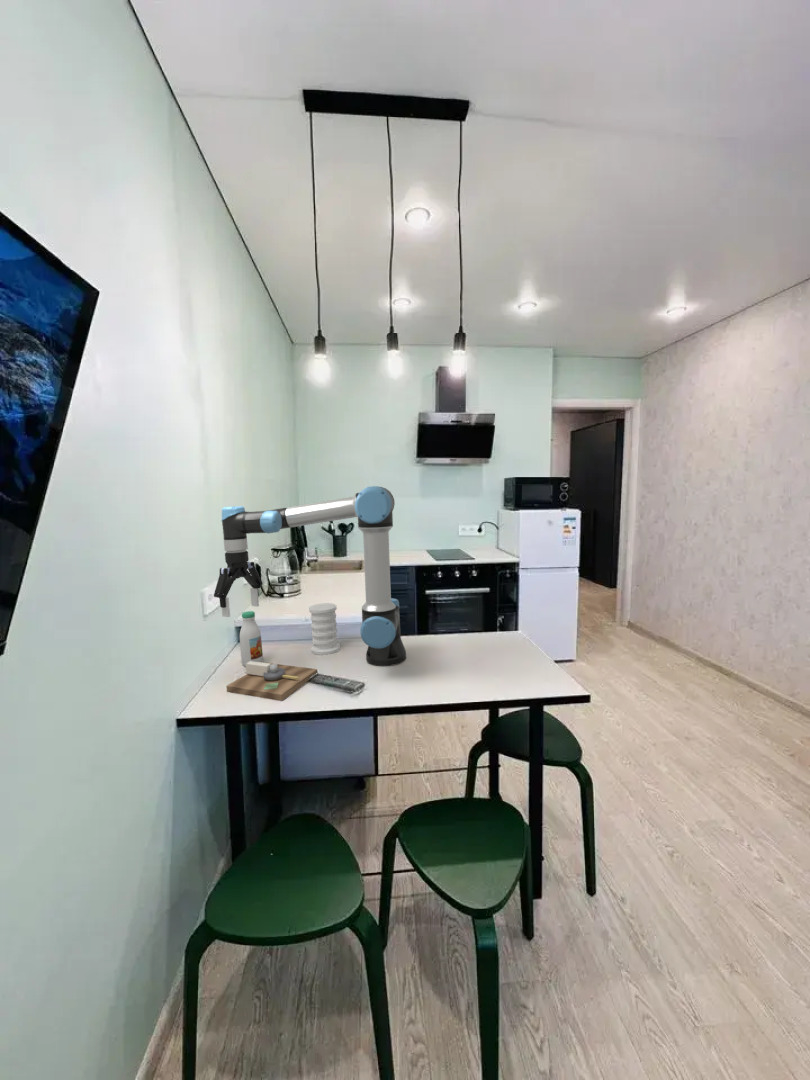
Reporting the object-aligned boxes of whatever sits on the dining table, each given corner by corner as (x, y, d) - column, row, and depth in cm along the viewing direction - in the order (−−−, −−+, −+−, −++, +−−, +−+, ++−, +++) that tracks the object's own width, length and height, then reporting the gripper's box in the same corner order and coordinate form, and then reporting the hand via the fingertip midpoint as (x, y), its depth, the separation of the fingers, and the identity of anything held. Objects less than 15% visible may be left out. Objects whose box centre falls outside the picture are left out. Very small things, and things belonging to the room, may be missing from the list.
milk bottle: (243, 669, 161) (238, 616, 159) (240, 662, 168) (236, 611, 166) (264, 664, 165) (260, 613, 163) (261, 658, 172) (257, 608, 169)
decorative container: (337, 654, 172) (334, 610, 170) (308, 655, 172) (305, 611, 170) (342, 644, 183) (339, 602, 181) (314, 645, 183) (311, 603, 181)
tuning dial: (304, 675, 147) (303, 664, 147) (291, 683, 141) (290, 672, 141) (255, 668, 155) (254, 658, 155) (241, 676, 149) (240, 665, 148)
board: (317, 674, 153) (317, 668, 153) (281, 700, 135) (281, 694, 135) (267, 667, 162) (266, 662, 161) (226, 691, 143) (226, 685, 143)
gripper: (254, 546, 163) (258, 601, 166) (198, 556, 141) (204, 620, 143) (269, 546, 160) (273, 602, 163) (215, 557, 138) (221, 622, 140)
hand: (241, 611), depth 153 cm, fingers open, 13 cm apart
